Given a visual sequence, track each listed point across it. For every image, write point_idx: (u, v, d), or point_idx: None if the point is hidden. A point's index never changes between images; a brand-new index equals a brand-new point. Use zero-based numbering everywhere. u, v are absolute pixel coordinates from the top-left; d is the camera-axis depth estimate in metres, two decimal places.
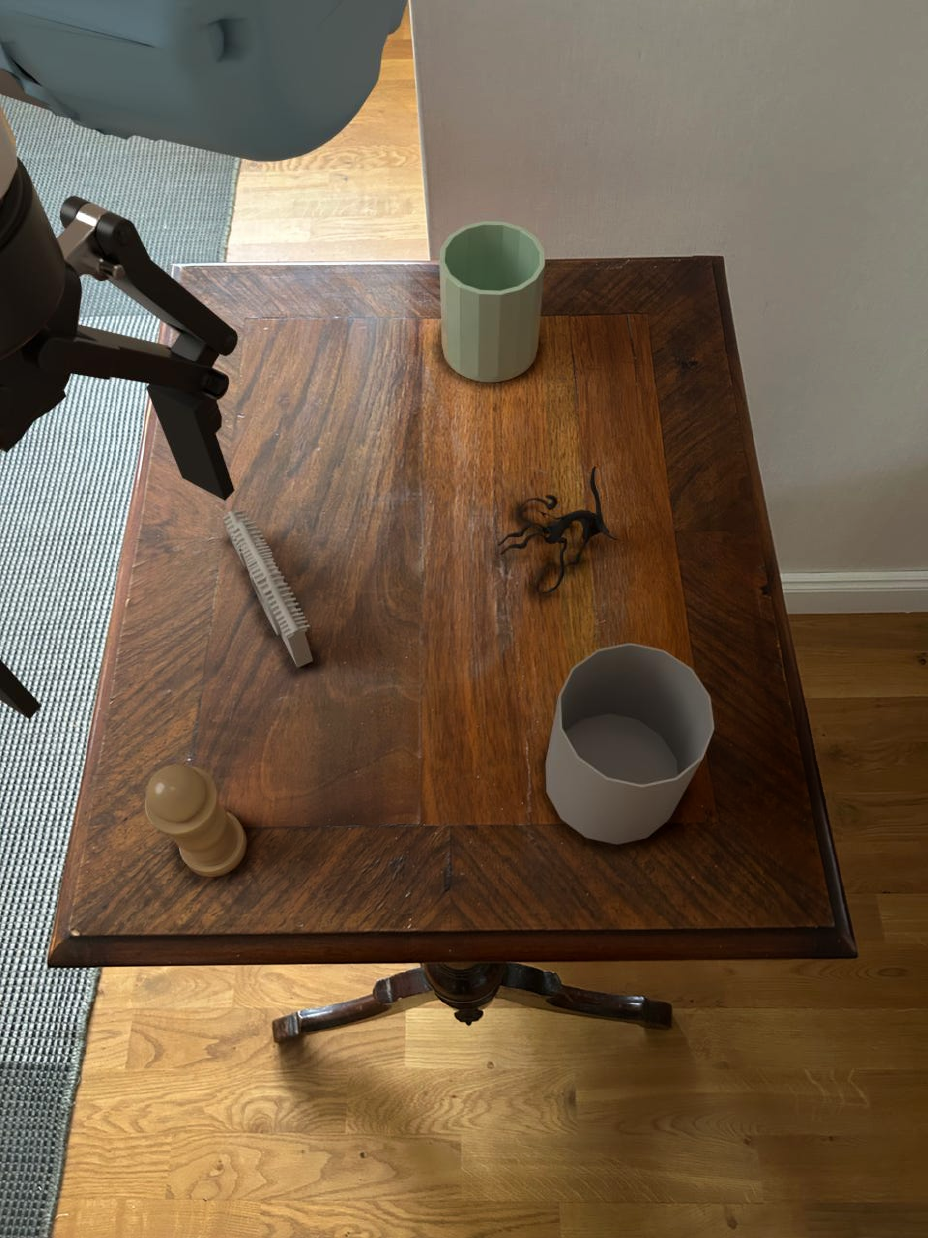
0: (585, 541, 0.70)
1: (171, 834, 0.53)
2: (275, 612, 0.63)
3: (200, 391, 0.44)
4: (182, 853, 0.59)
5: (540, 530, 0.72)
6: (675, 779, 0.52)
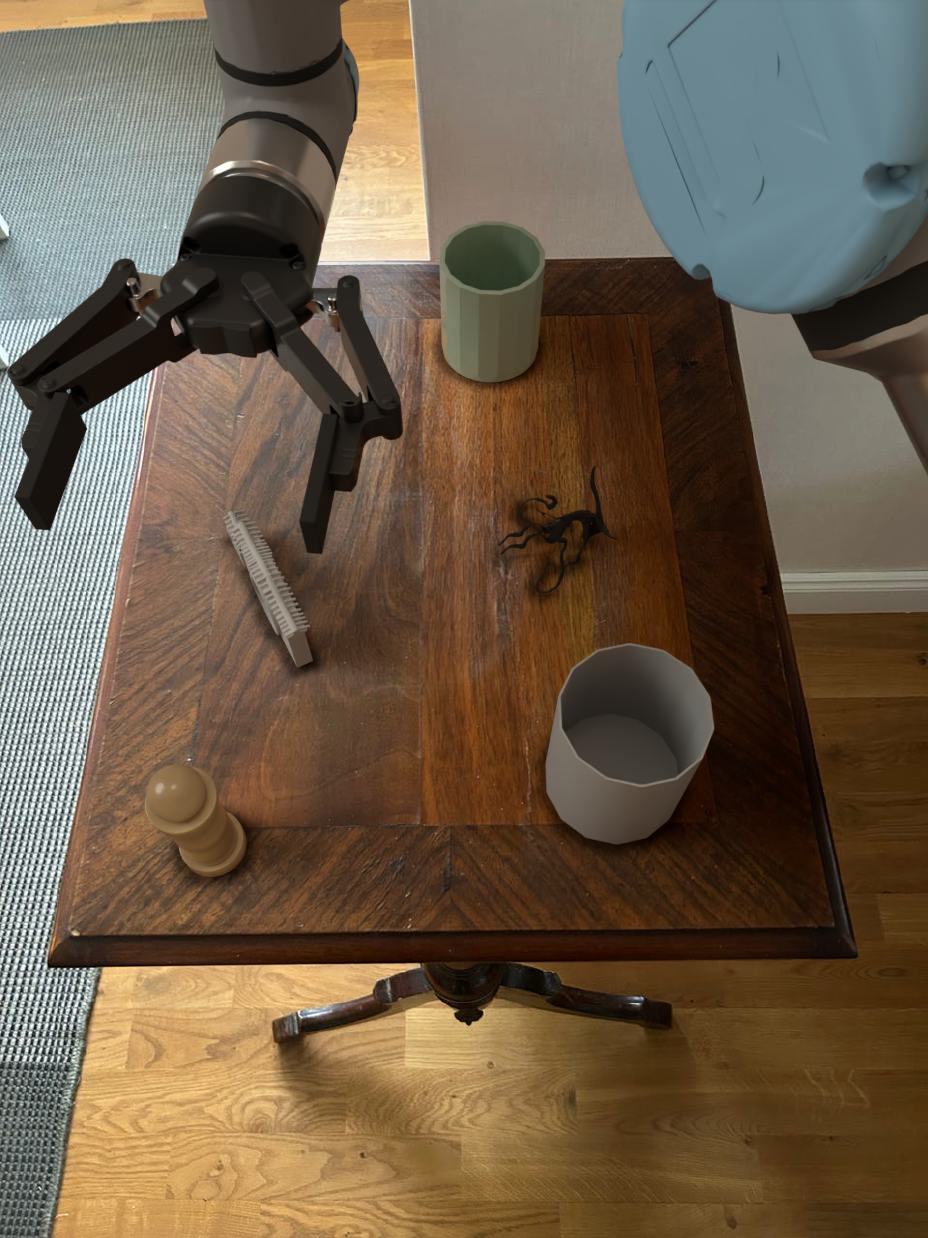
0: (585, 541, 0.70)
1: (171, 834, 0.53)
2: (275, 612, 0.63)
3: (340, 409, 0.50)
4: (182, 853, 0.59)
5: (540, 530, 0.72)
6: (675, 779, 0.52)
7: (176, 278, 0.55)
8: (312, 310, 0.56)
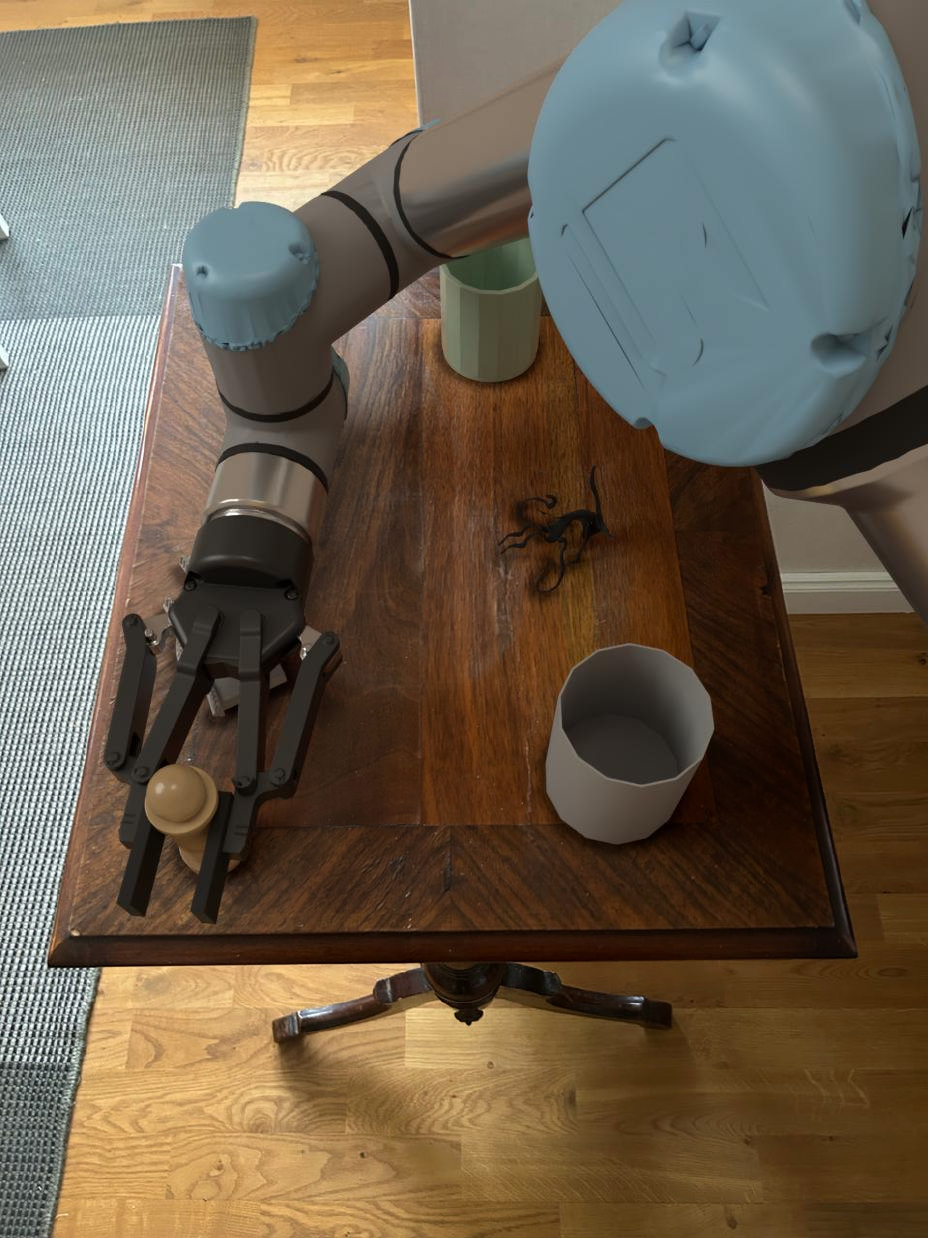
0: (585, 540, 0.70)
1: (171, 834, 0.53)
2: None
3: (235, 780, 0.55)
4: (182, 853, 0.59)
5: (540, 529, 0.72)
6: (675, 779, 0.52)
7: (182, 610, 0.61)
8: (297, 642, 0.61)
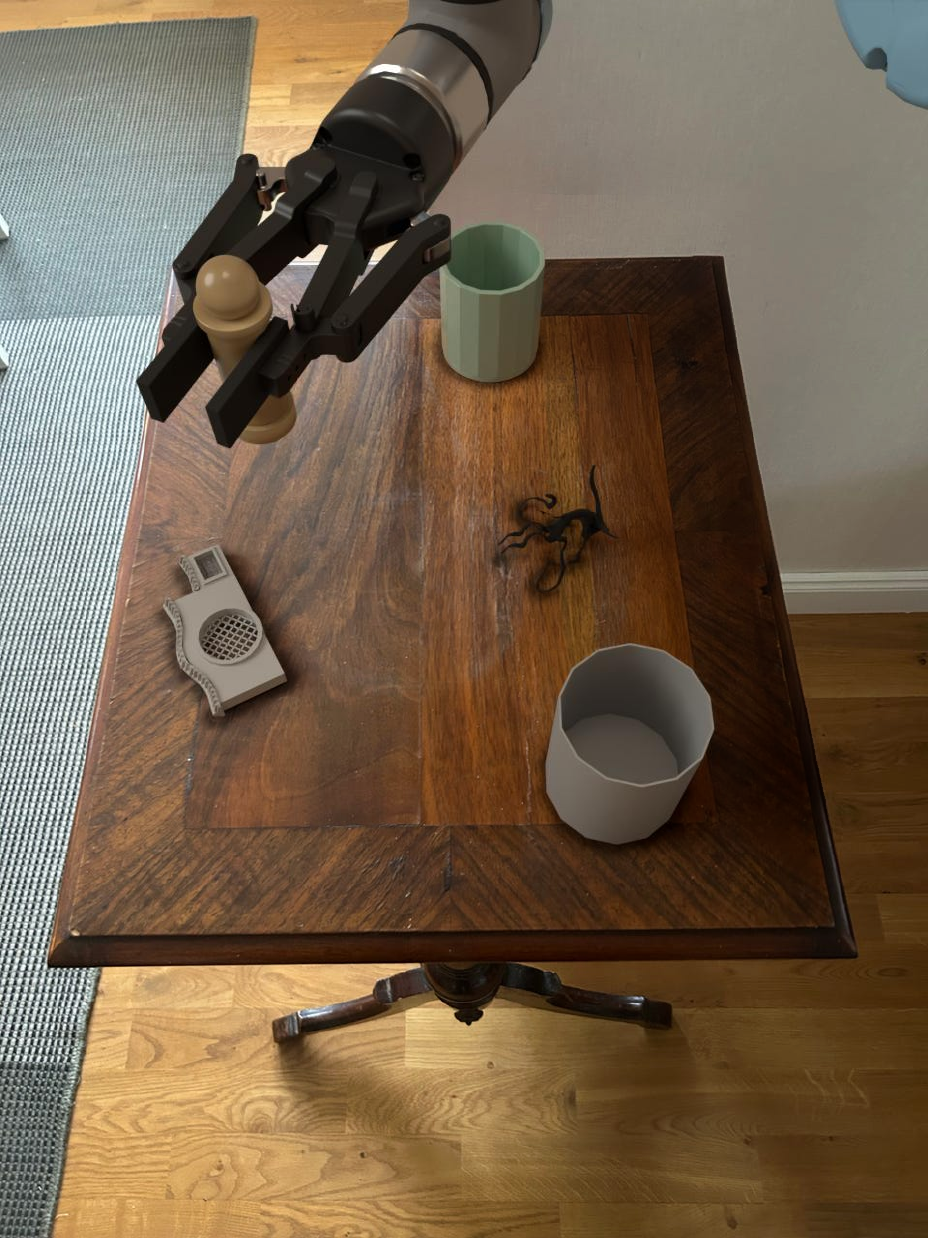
0: (585, 540, 0.70)
1: (211, 330, 0.49)
2: None
3: None
4: None
5: (540, 529, 0.72)
6: (675, 779, 0.52)
7: (301, 163, 0.56)
8: (408, 227, 0.56)
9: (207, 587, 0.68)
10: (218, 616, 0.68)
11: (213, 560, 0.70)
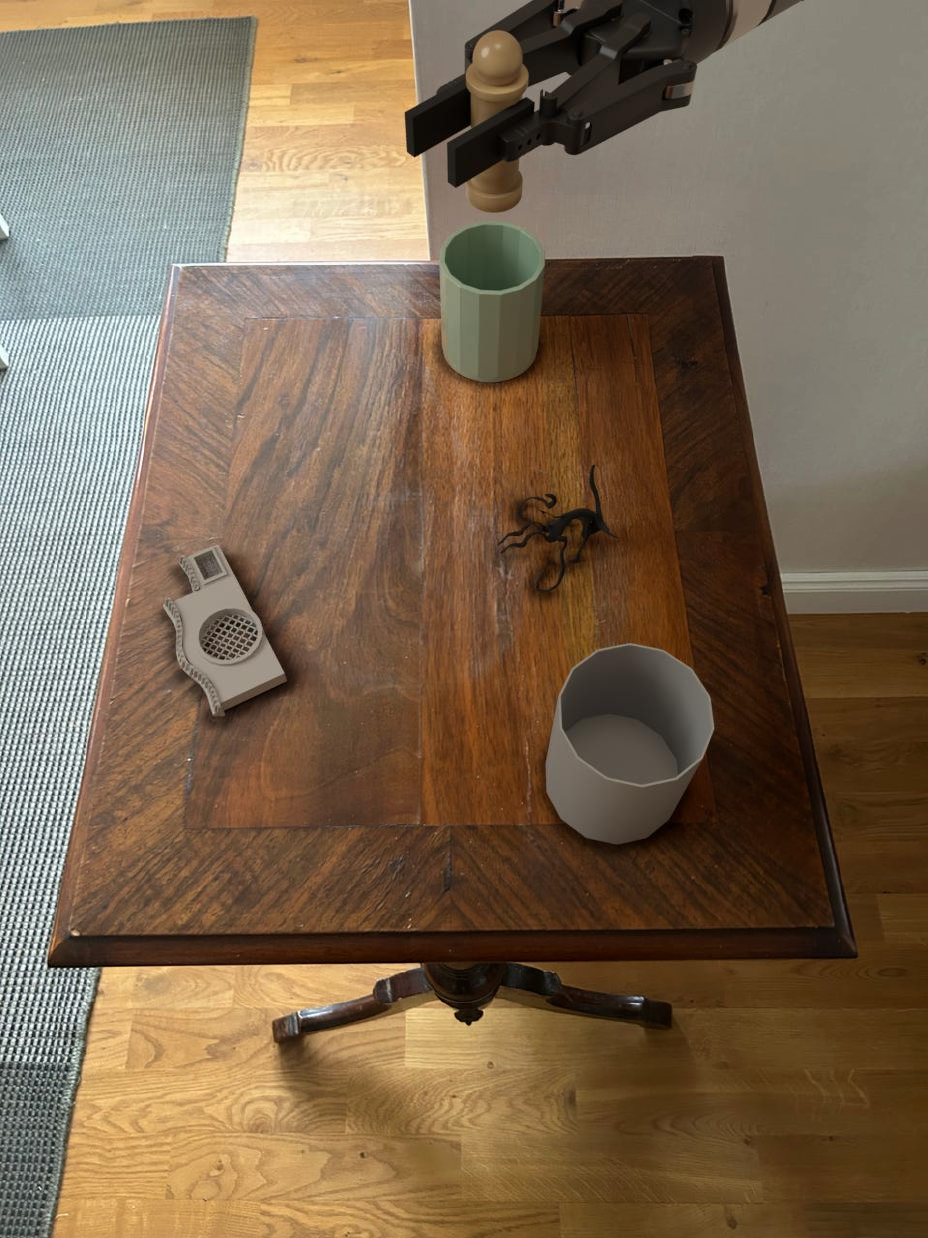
0: (585, 539, 0.70)
1: (473, 89, 0.61)
2: None
3: None
4: None
5: (540, 529, 0.72)
6: (675, 779, 0.52)
7: None
8: None
9: (207, 587, 0.68)
10: (218, 616, 0.68)
11: (213, 560, 0.70)
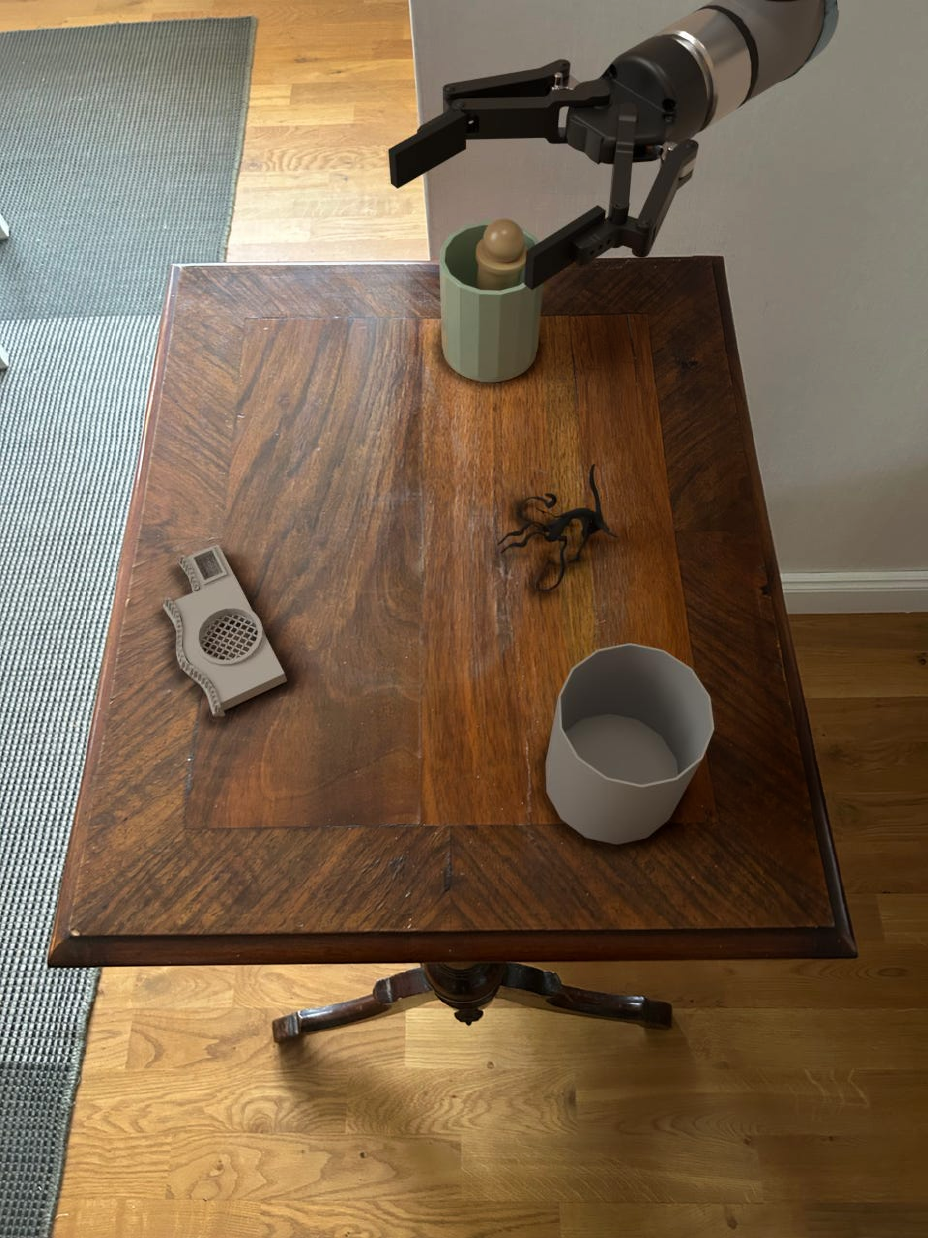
0: (585, 539, 0.70)
1: (481, 263, 0.72)
2: None
3: None
4: None
5: (540, 528, 0.72)
6: (675, 779, 0.52)
7: (586, 87, 0.73)
8: (656, 154, 0.71)
9: (207, 587, 0.68)
10: (218, 616, 0.68)
11: (213, 560, 0.70)
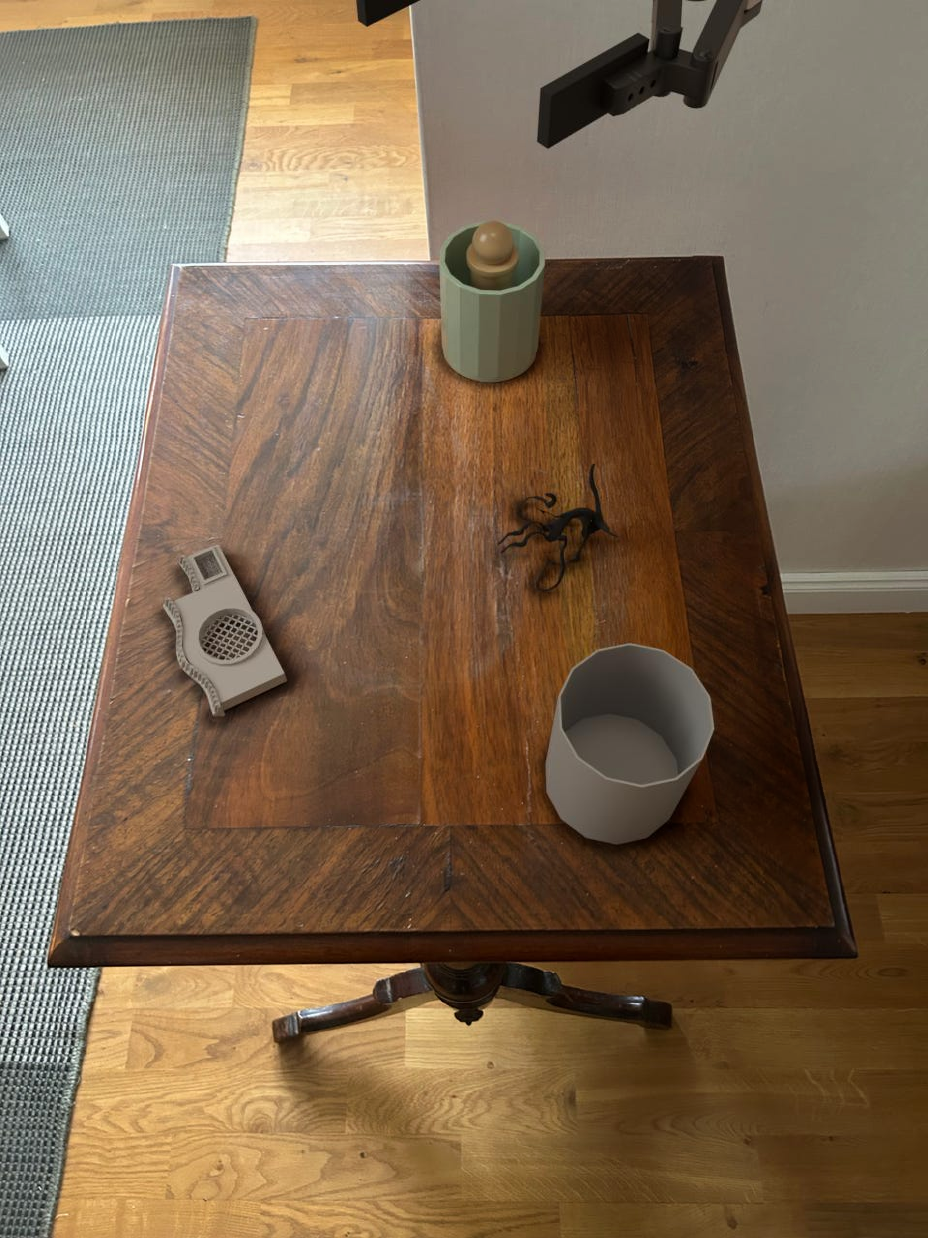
0: (585, 538, 0.70)
1: (472, 267, 0.73)
2: None
3: None
4: None
5: (540, 528, 0.72)
6: (675, 779, 0.52)
7: None
8: None
9: (207, 587, 0.68)
10: (218, 616, 0.68)
11: (213, 560, 0.70)
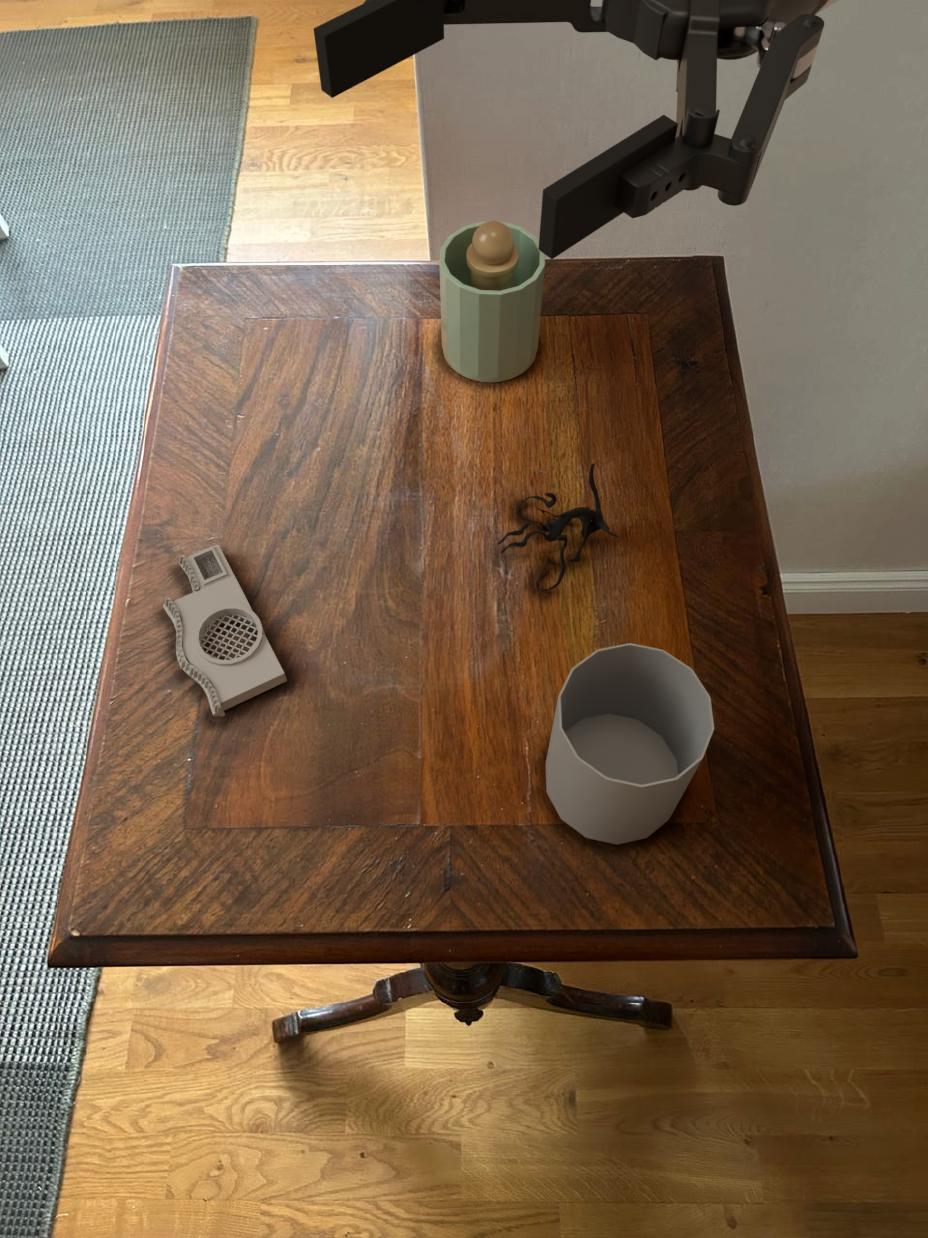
0: (585, 538, 0.70)
1: (472, 267, 0.73)
2: None
3: None
4: None
5: (539, 528, 0.72)
6: (675, 779, 0.52)
7: None
8: (751, 42, 0.44)
9: (207, 587, 0.68)
10: (218, 616, 0.68)
11: (213, 560, 0.70)
